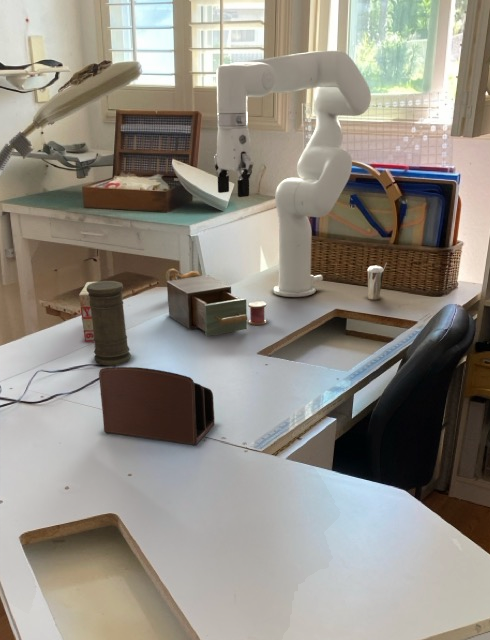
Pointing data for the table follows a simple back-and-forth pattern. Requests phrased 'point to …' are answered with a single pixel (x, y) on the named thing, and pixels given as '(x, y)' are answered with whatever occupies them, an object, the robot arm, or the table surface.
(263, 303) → the spool
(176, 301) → the cabinet
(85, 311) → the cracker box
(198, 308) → the drawer
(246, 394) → the table surface
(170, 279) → the lion figurine
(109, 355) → the container
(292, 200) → the robot arm
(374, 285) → the milkshake
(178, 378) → the letter holder
